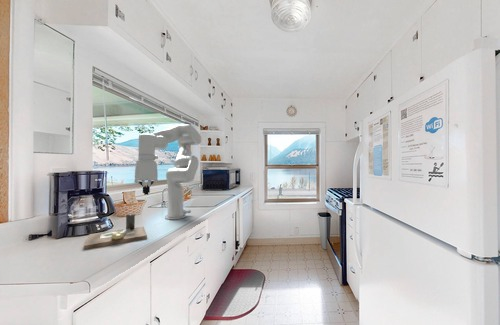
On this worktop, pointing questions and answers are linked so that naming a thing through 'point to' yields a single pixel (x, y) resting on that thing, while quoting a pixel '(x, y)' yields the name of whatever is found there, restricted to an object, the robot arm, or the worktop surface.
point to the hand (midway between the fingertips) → (146, 194)
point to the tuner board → (106, 239)
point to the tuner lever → (129, 226)
